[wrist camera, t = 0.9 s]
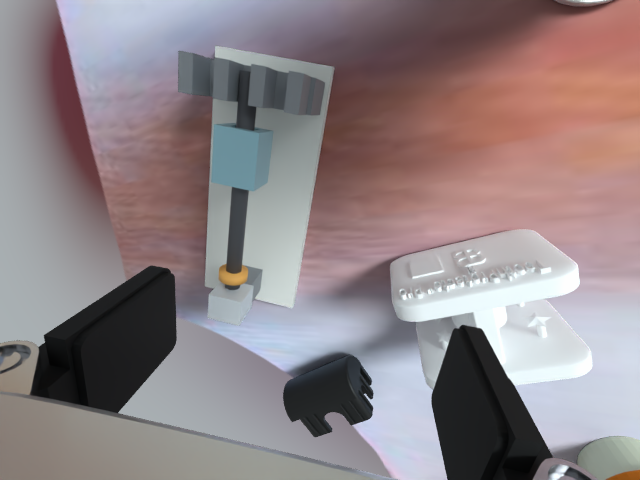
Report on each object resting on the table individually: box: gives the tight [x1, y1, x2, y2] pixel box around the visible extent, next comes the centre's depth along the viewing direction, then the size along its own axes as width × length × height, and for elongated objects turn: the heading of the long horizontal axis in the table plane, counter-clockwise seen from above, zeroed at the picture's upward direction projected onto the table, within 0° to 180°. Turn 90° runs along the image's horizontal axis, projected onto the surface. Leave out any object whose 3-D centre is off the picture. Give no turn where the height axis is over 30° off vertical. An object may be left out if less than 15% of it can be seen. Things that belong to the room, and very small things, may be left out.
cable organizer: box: [390, 229, 592, 390], centre depth 33 cm, size 15×11×12 cm
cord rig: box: [178, 46, 335, 326], centre depth 35 cm, size 28×12×9 cm, turn 170°
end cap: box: [283, 355, 374, 437], centre depth 44 cm, size 10×7×7 cm
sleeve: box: [211, 123, 273, 191], centre depth 30 cm, size 5×4×4 cm
